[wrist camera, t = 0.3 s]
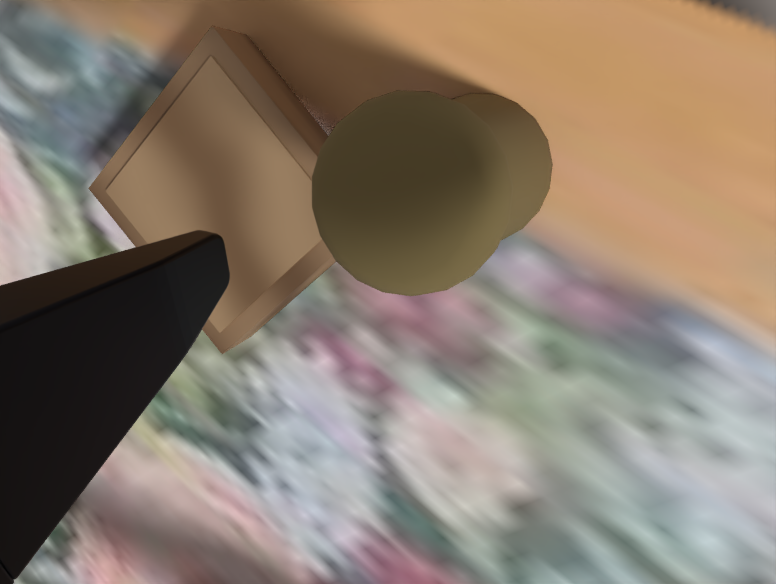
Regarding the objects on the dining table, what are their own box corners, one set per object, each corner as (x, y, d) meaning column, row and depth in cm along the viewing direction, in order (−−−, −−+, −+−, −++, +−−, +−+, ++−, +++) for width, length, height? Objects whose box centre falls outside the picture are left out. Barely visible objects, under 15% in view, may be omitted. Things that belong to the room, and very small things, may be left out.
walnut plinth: (251, 336, 29) (220, 355, 27) (127, 183, 29) (86, 188, 27) (390, 213, 25) (368, 222, 22) (246, 34, 25) (209, 24, 22)
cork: (382, 132, 24) (235, 136, 14) (519, 64, 22) (458, 11, 12) (437, 264, 25) (334, 356, 15) (575, 212, 22) (563, 281, 12)
